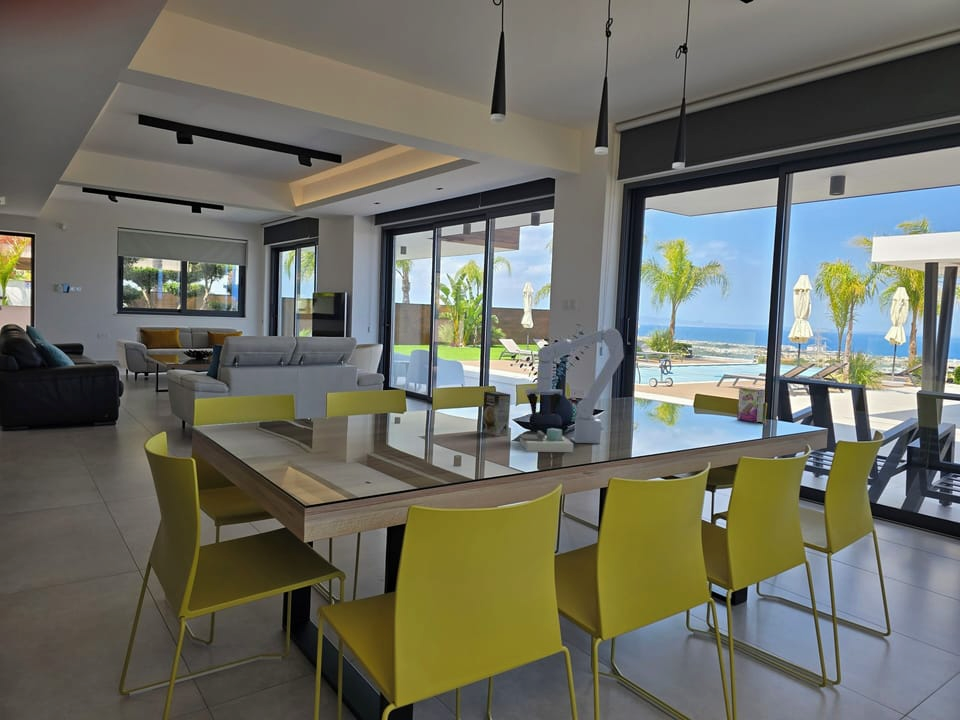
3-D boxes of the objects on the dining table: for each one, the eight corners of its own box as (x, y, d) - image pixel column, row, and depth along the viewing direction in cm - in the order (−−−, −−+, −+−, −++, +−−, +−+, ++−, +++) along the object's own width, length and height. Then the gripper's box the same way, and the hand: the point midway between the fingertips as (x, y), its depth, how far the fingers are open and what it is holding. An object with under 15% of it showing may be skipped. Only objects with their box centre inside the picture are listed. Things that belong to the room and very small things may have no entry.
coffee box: (481, 432, 246) (483, 391, 245) (494, 431, 250) (496, 390, 249) (496, 436, 239) (498, 394, 238) (509, 435, 243) (511, 393, 242)
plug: (551, 446, 224) (552, 428, 224) (561, 447, 222) (562, 429, 222) (546, 447, 221) (547, 429, 221) (556, 449, 219) (557, 431, 219)
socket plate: (562, 444, 229) (563, 436, 229) (572, 452, 215) (573, 443, 215) (519, 443, 227) (520, 435, 227) (527, 451, 213) (527, 442, 213)
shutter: (540, 436, 224) (540, 430, 224) (544, 440, 217) (544, 434, 217) (519, 436, 224) (519, 430, 223) (523, 440, 216) (523, 433, 216)
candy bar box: (736, 419, 313) (738, 386, 312) (743, 419, 316) (745, 386, 315) (756, 423, 303) (758, 389, 302) (762, 422, 306) (765, 389, 305)
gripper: (531, 378, 232) (529, 415, 233) (566, 379, 236) (564, 415, 237) (524, 377, 239) (522, 412, 239) (558, 377, 243) (556, 412, 244)
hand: (543, 413), depth 239 cm, fingers open, 7 cm apart
